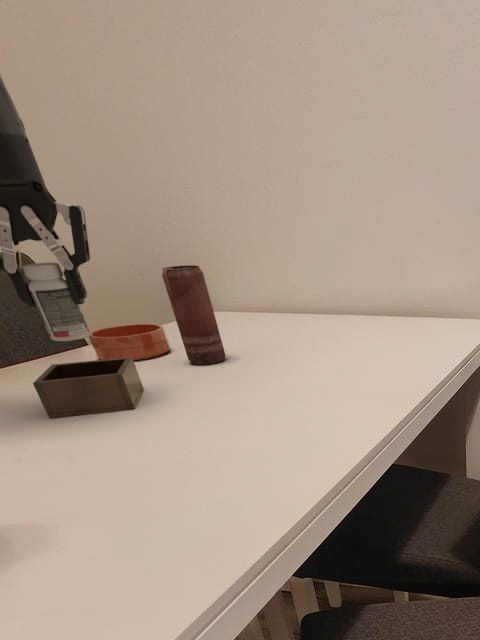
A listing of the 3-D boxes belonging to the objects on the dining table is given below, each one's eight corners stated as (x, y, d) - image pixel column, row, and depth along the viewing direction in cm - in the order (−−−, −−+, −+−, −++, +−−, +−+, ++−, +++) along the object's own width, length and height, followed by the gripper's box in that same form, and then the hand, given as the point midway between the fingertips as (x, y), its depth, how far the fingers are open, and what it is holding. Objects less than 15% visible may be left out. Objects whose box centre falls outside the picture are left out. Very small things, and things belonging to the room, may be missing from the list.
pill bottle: (99, 335, 79) (70, 262, 74) (67, 342, 76) (35, 266, 71) (75, 333, 81) (46, 261, 76) (43, 340, 77) (10, 265, 72)
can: (180, 364, 101) (150, 268, 92) (207, 355, 105) (180, 263, 96) (208, 367, 99) (179, 269, 90) (233, 358, 103) (208, 264, 95)
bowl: (92, 365, 101) (82, 340, 99) (104, 350, 111) (95, 327, 108) (167, 358, 104) (159, 333, 102) (173, 344, 113) (165, 321, 111)
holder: (49, 418, 78) (32, 383, 76) (66, 397, 86) (51, 364, 84) (134, 408, 81) (121, 374, 78) (143, 389, 89) (132, 356, 86)
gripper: (-104, 130, 61) (-15, 314, 71) (49, 128, 64) (113, 305, 75) (-76, 134, 67) (3, 305, 77) (64, 133, 70) (122, 297, 80)
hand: (57, 304), depth 76 cm, fingers closed on pill bottle, 4 cm apart
